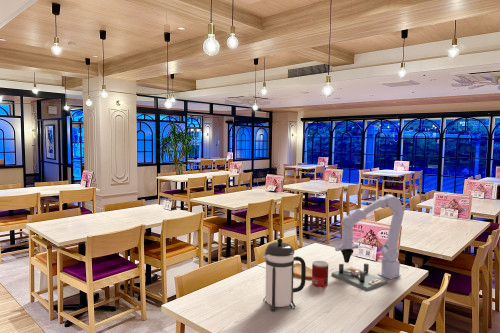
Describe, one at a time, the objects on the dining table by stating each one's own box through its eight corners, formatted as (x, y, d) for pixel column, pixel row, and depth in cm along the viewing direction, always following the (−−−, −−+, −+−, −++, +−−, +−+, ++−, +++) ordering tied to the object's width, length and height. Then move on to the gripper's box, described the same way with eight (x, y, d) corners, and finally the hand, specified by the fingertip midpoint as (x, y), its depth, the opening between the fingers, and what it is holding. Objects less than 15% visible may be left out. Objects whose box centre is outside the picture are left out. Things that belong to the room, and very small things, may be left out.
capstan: (368, 271, 188) (368, 263, 188) (364, 282, 174) (364, 274, 173) (341, 267, 195) (342, 259, 194) (335, 277, 180) (335, 269, 180)
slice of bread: (320, 280, 181) (321, 273, 180) (286, 279, 182) (286, 273, 181) (316, 268, 198) (316, 262, 198) (284, 267, 199) (284, 261, 199)
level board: (351, 269, 196) (351, 263, 196) (387, 283, 177) (387, 276, 177) (331, 275, 187) (331, 268, 187) (367, 290, 168) (367, 283, 168)
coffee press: (289, 317, 142) (290, 245, 140) (255, 307, 150) (256, 239, 148) (305, 301, 157) (307, 236, 155) (274, 292, 165) (275, 231, 163)
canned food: (328, 288, 171) (328, 266, 170) (311, 286, 172) (312, 265, 172) (327, 282, 178) (328, 261, 177) (312, 280, 180) (312, 260, 179)
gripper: (352, 234, 196) (352, 258, 197) (332, 237, 190) (331, 261, 191) (361, 238, 189) (360, 262, 190) (340, 240, 184) (339, 265, 185)
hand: (346, 262), depth 190 cm, fingers closed
